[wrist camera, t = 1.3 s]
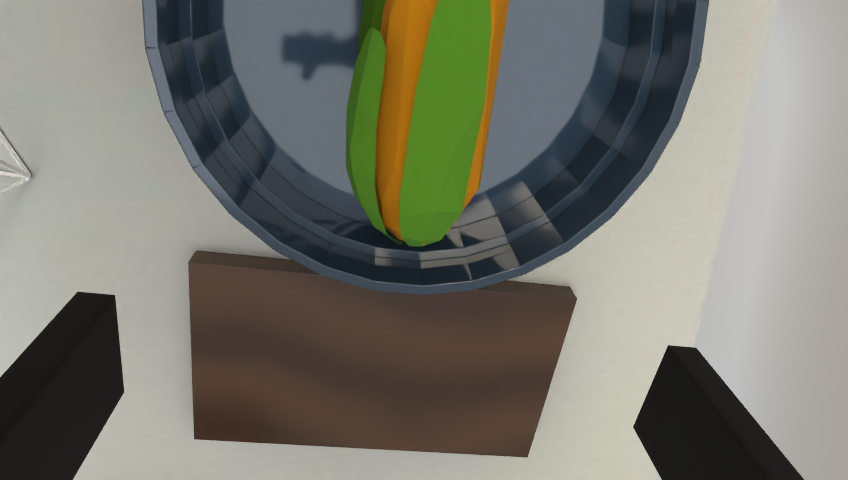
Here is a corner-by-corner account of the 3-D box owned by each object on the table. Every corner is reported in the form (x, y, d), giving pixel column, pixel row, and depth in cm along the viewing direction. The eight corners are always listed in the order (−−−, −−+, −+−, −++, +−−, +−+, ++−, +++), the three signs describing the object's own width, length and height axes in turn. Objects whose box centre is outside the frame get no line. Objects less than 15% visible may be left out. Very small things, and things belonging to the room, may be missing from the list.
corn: (337, 274, 26) (380, -275, 18) (336, 210, 33) (367, -210, 24) (489, 281, 28) (597, -224, 19) (458, 218, 34) (528, -177, 26)
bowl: (178, -311, 23) (117, -395, 18) (717, -191, 26) (804, -232, 21) (193, 222, 33) (157, 271, 28) (579, 261, 37) (613, 312, 31)
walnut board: (195, 250, 34) (188, 262, 33) (570, 286, 37) (577, 298, 36) (200, 423, 40) (194, 439, 39) (522, 442, 43) (527, 457, 42)
